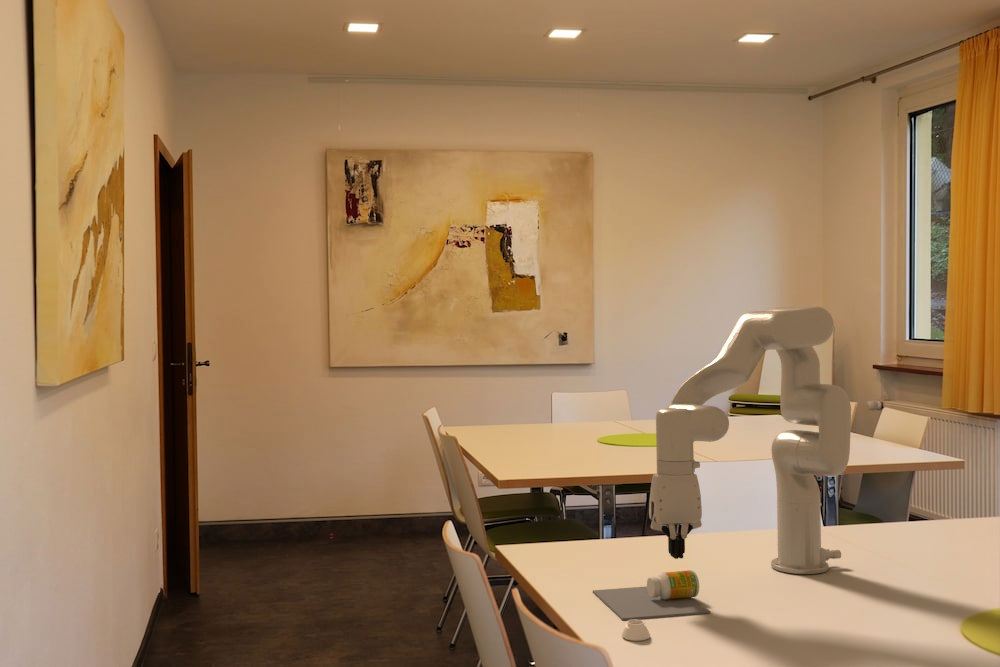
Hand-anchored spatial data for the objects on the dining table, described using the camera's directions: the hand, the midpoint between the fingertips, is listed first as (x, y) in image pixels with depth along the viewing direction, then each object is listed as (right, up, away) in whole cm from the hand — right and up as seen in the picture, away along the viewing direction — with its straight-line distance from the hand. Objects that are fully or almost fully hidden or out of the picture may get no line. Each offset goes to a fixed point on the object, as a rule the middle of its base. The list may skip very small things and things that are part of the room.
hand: (676, 556), depth 196 cm
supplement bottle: (+4, -6, 0) cm, 7 cm away
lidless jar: (-12, -9, -24) cm, 28 cm away
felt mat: (-6, -9, -2) cm, 11 cm away
